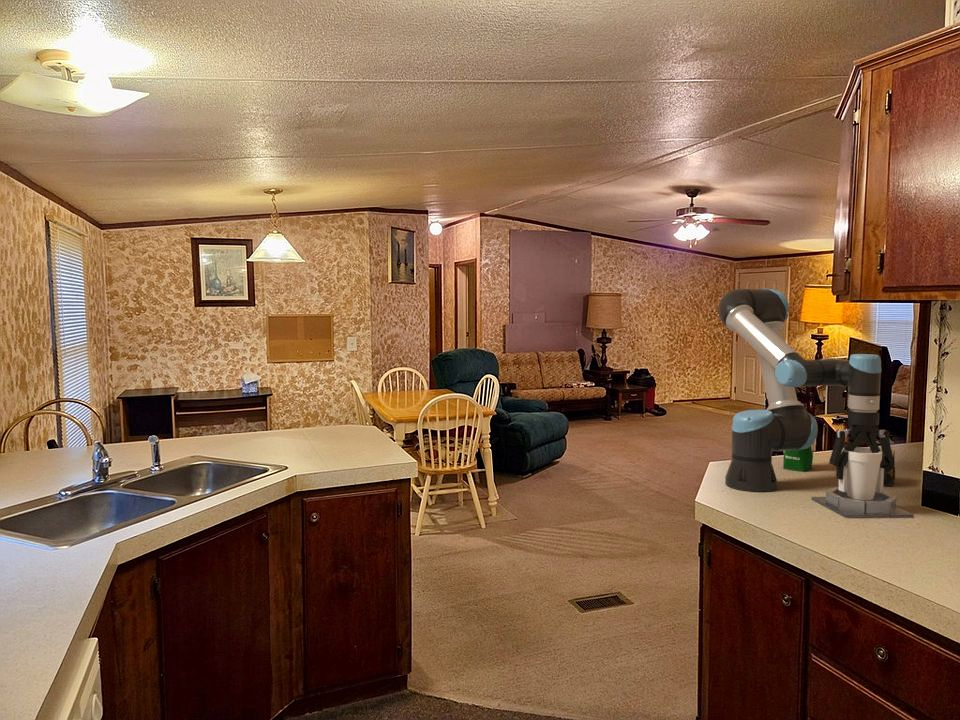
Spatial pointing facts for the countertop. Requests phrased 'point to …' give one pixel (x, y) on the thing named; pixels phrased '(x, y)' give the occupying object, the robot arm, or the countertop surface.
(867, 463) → the foam cup
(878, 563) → the countertop surface
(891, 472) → the yellow black cube
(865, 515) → the ring seat
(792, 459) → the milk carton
